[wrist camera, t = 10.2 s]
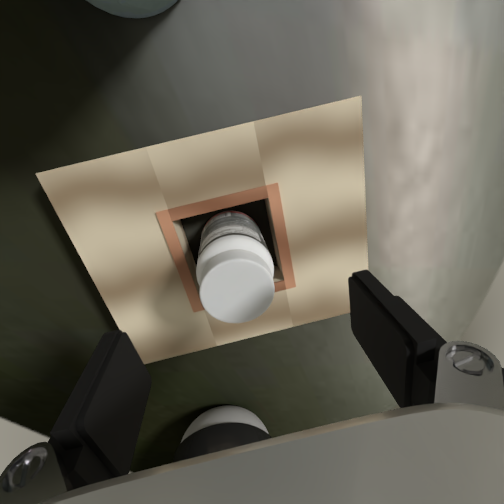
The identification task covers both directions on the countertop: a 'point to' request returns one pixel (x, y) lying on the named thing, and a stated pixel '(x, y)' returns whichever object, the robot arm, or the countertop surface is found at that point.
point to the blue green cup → (133, 7)
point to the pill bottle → (234, 268)
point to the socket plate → (215, 198)
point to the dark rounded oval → (220, 432)
